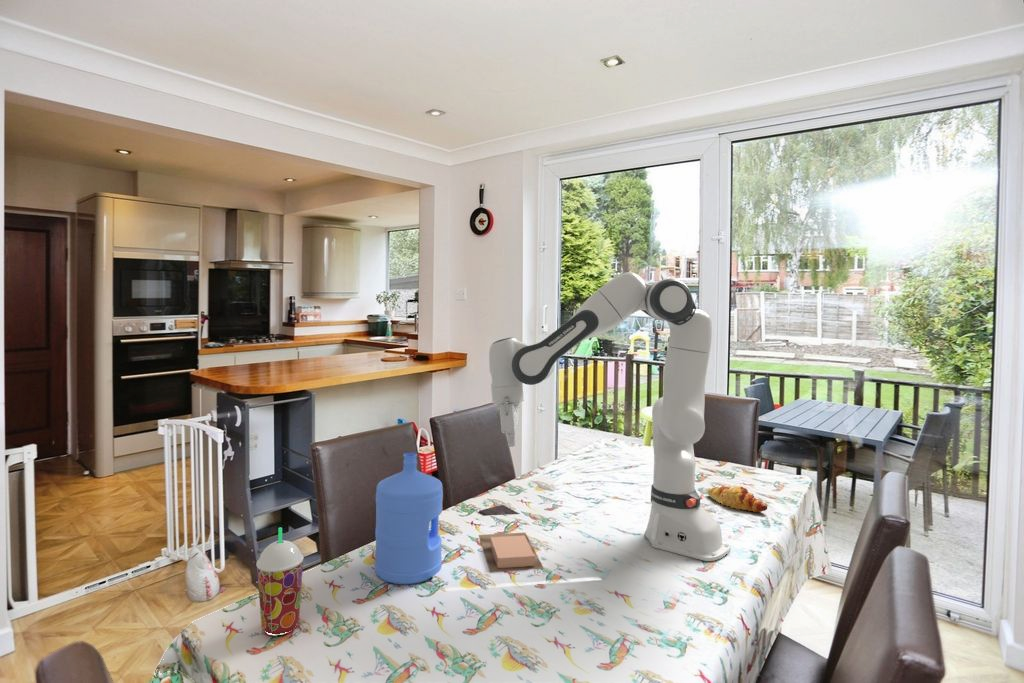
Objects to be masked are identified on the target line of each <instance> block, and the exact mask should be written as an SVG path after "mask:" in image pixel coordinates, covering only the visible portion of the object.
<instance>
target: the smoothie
mask: <svg viewBox="0 0 1024 683" xmlns="http://www.w3.org/2000/svg"><path fill="white" fill-rule="evenodd" d="M277 531H278V532H277V534H278V539H277V541H273V542H272V543H270V544H269V545H267V546H266V547H265V548H264V549H263V551H262V552H261V554H260V556H259V558H258V560H257V561H256V566H255V567H257V568H256V569H257V570H256V571H257V572H256V573H257V585H258V598H259V609H260V610H259V612H260V624H261V625H260V626H261V628H262V629H263V631H264V630H265V631H266V632H268V633H272V634H280V633H285V632H289V631H291V630H293V629H294V628H295V626H296V627H297V625H296V624H299V621H300V617H301V616H300V612H301V601H302V597H301V596H302V586H303V585H302V581H303V567H304V554H303V553H302V552H301V550H300V548H299V547H298V546H297V545H296V544H295V543H294V542H292V541H289V540H284V539H283V528H282V527H278V530H277ZM295 629H296V628H295ZM295 629H294V630H295ZM294 630H293V631H294ZM265 631H264V632H265Z"/></svg>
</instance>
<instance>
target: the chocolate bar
mask: <svg viewBox="0 0 1024 683" xmlns="http://www.w3.org/2000/svg"><path fill="white" fill-rule="evenodd" d="M478 513H479V514H481V515H482V516H506V515H507V516H508V515H509V516H510V515H520V512H517V511H516V510H513V509H511V508H510V507H508V506H506V505H503V504H500V505H497V506H492V507H488V508H484V509H480V510H478Z"/></svg>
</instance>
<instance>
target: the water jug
mask: <svg viewBox="0 0 1024 683" xmlns="http://www.w3.org/2000/svg"><path fill="white" fill-rule="evenodd" d="M402 456H403V461H402V463H403V468H402V470H401V471H400V472H397V473H395V474H392V475H391V476H388V477H386V478H384V479H382V480H380V481H379V482H378V483H377V485H376V487H375V488H376V492H375V505H376V506H375V510H376V511H375V513H376V514H375V534H374V535H375V536H374V537H375V561H374V570H375V573H376V575H377V576H378V578H380V579H382V581H385V582H387V583H391V584H396V585H413V584H419V583H423V582H425V581H429V580H430V579H432V578H433V577H434V576H435V575H437V573H439V572H440V571H441V570H442V569H441V568H442V564H443V560H442V559H443V557H442V537H441V535H440V534H439V524H440V523H439V519H440V516H441V514H442V512H443V499H444V490H443V482H442V481H441V480H440V479H438V478H437V477H435V476H433V475H430V474H427V473H425V472H421V471H419V470H418V469H417V465H418V461H417V456H418V453H416V452H405V453H403V455H402Z"/></svg>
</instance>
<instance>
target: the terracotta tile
mask: <svg viewBox="0 0 1024 683" xmlns="http://www.w3.org/2000/svg"><path fill="white" fill-rule="evenodd" d="M490 547H491V550H492V553H493V556H494V559H495V562H496V564H497V567H498V568H510V567H525V566H535V555H534V553H533V551H532V549H531V547H530V545H529V543H528V541H527V539H526V537H525V535H523V536H504V537H491V538H490Z"/></svg>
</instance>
